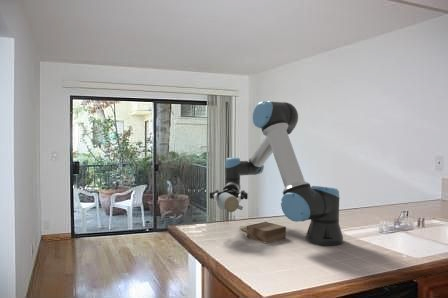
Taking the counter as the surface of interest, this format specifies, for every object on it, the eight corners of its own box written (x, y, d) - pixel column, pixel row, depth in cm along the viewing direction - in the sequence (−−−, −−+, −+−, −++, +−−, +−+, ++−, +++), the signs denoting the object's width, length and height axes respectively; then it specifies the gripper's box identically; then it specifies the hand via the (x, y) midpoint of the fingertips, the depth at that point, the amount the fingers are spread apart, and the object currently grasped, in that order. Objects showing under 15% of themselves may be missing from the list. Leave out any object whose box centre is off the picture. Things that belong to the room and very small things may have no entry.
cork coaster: (262, 229, 173) (262, 228, 173) (249, 232, 167) (249, 231, 167) (250, 225, 180) (250, 224, 180) (236, 228, 174) (236, 227, 174)
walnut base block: (285, 238, 158) (285, 226, 158) (266, 243, 151) (266, 231, 151) (266, 232, 168) (266, 221, 168) (246, 236, 160) (246, 225, 160)
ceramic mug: (225, 213, 153) (225, 195, 153) (216, 209, 161) (216, 192, 160) (246, 211, 158) (246, 194, 158) (237, 208, 165) (237, 191, 165)
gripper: (254, 199, 176) (253, 208, 153) (208, 198, 178) (201, 207, 156) (254, 183, 175) (253, 190, 153) (208, 183, 178) (201, 189, 155)
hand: (226, 198), depth 154 cm, fingers closed on ceramic mug, 10 cm apart
